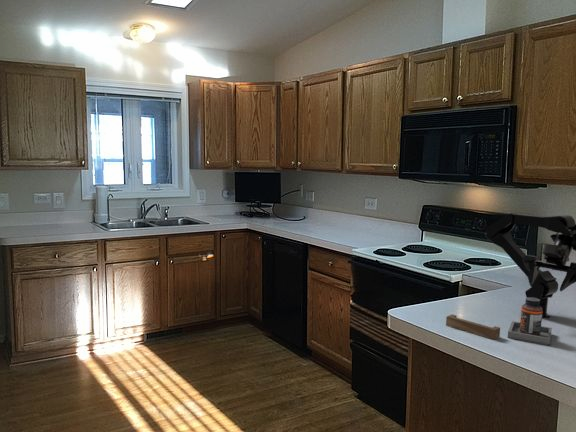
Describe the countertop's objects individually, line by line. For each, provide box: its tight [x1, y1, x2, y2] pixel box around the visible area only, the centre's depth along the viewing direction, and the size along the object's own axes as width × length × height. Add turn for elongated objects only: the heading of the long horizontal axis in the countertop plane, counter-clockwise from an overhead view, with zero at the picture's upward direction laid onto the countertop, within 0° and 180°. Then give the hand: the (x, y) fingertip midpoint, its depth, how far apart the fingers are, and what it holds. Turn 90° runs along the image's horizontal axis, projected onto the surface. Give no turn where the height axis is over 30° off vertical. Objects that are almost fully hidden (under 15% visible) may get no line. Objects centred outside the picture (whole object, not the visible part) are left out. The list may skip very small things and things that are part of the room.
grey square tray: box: [507, 320, 553, 346], centre depth 156 cm, size 12×12×2 cm
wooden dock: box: [445, 313, 501, 340], centre depth 159 cm, size 4×16×3 cm, turn 43°
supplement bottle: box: [519, 297, 543, 336], centre depth 156 cm, size 6×6×11 cm
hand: (545, 287), depth 163 cm, fingers open, 9 cm apart
